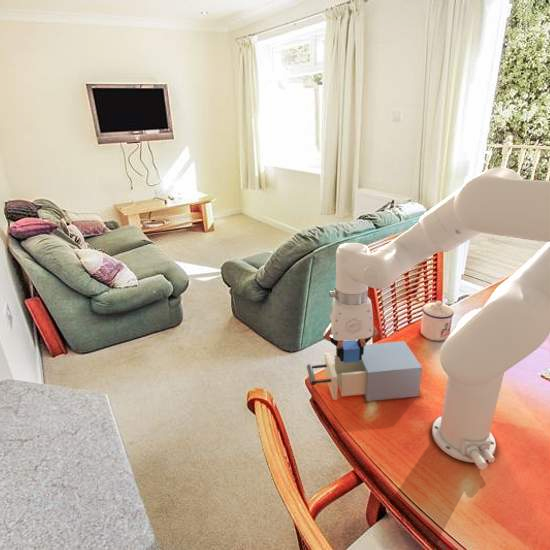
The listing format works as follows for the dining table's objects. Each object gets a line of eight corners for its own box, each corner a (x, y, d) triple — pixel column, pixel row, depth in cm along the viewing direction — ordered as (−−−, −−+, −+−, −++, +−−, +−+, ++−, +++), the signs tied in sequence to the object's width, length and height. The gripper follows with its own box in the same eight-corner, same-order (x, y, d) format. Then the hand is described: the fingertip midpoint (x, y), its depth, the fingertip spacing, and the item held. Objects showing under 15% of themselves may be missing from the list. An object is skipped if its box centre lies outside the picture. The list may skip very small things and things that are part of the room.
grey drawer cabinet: (366, 401, 95) (368, 372, 91) (354, 372, 106) (355, 345, 102) (419, 396, 96) (422, 367, 92) (401, 367, 106) (404, 340, 103)
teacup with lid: (445, 344, 115) (450, 311, 110) (415, 336, 120) (419, 304, 116) (456, 327, 123) (461, 296, 119) (428, 319, 129) (431, 289, 124)
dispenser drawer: (312, 402, 95) (311, 379, 92) (306, 375, 104) (305, 354, 101) (381, 395, 95) (382, 372, 93) (368, 369, 105) (369, 348, 102)
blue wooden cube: (359, 361, 95) (359, 348, 93) (343, 363, 95) (344, 350, 93) (355, 352, 99) (355, 339, 97) (340, 353, 98) (340, 341, 97)
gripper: (319, 304, 85) (320, 369, 93) (391, 298, 86) (386, 363, 93) (314, 290, 92) (315, 351, 100) (380, 284, 93) (376, 346, 100)
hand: (349, 356), depth 96 cm, fingers closed on blue wooden cube, 4 cm apart
